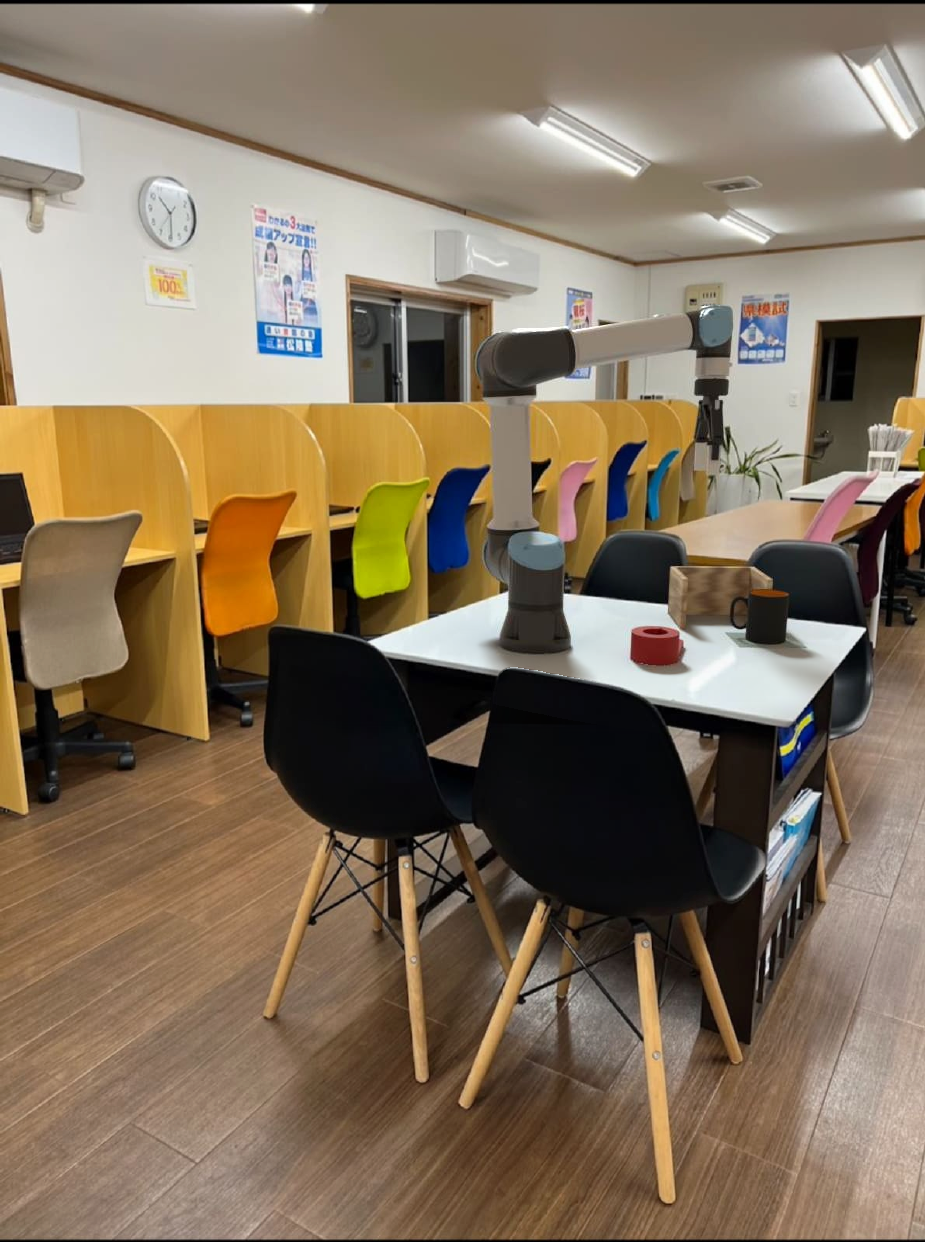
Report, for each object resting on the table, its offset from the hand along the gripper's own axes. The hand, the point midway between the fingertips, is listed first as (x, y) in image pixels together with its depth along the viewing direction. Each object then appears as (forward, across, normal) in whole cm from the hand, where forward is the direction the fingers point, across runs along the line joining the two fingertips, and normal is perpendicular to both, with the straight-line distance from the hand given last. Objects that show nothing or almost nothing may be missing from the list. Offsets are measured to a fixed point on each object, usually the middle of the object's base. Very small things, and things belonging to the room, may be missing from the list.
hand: (706, 472), depth 207 cm
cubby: (+35, -4, -4) cm, 35 cm away
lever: (+35, -35, +14) cm, 51 cm away
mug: (+34, -21, -8) cm, 41 cm away
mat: (+35, -22, -10) cm, 42 cm away
